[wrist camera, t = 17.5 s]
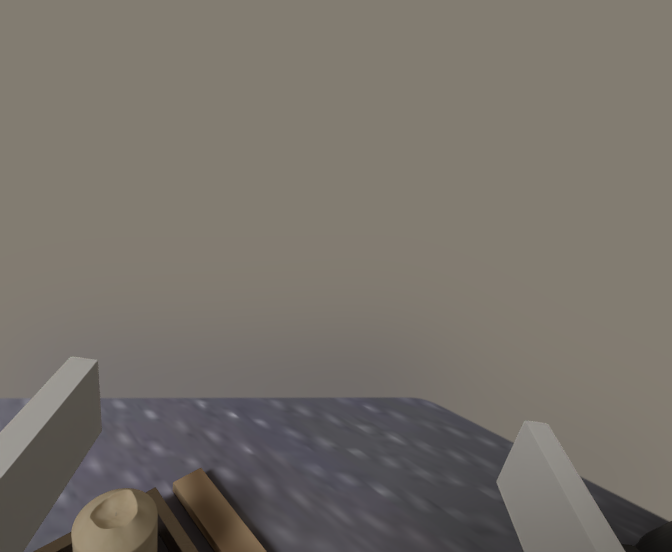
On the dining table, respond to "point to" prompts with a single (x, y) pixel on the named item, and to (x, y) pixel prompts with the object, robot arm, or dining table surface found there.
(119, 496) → the candle
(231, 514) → the strip
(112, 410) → the dining table surface
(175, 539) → the wooden tray
